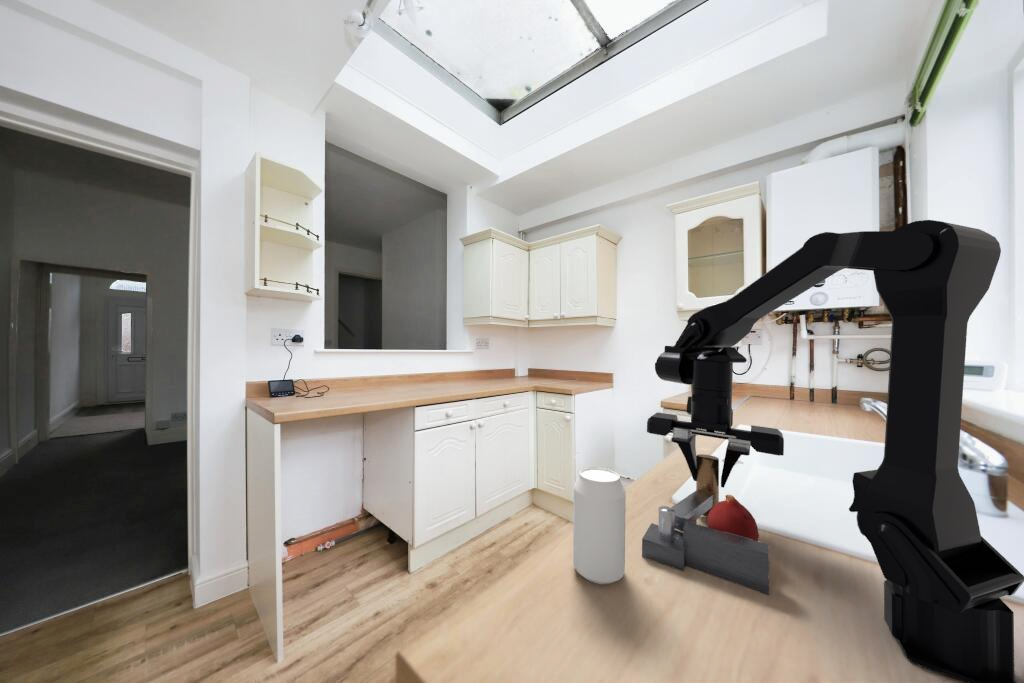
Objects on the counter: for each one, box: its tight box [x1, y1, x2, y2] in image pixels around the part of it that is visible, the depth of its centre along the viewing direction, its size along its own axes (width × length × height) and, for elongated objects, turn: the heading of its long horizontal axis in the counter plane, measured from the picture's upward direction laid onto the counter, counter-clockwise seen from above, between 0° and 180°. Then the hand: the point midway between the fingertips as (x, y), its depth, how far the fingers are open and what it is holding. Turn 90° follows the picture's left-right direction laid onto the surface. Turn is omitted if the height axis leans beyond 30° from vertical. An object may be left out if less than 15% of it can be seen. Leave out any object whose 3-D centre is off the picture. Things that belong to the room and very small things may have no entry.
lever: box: [670, 453, 720, 532], centre depth 52 cm, size 14×3×9 cm, turn 132°
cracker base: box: [641, 505, 770, 596], centre depth 43 cm, size 14×5×6 cm, turn 54°
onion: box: [706, 493, 760, 542], centre depth 46 cm, size 6×6×8 cm
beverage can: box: [572, 467, 627, 585], centre depth 42 cm, size 6×6×12 cm
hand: (708, 483), depth 56 cm, fingers open, 3 cm apart
